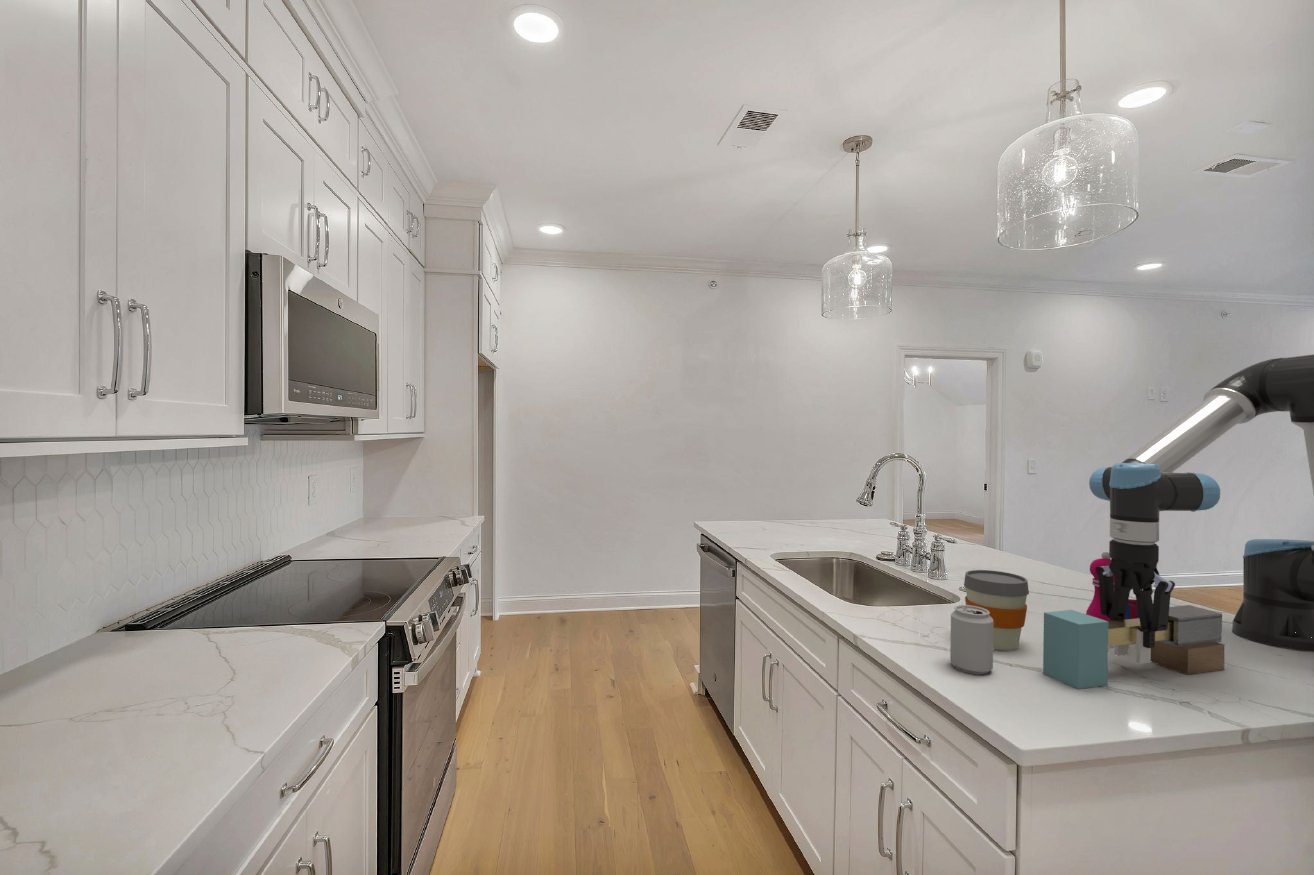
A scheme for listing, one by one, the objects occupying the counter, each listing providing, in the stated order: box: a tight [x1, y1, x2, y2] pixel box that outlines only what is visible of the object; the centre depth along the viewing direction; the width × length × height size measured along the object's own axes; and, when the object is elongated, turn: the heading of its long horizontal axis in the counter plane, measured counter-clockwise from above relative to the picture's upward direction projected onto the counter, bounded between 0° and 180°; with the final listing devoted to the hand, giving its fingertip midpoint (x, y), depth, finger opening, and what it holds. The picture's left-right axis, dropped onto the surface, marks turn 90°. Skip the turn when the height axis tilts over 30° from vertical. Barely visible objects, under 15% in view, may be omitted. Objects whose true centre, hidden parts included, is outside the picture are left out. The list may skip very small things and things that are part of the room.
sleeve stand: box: [1151, 604, 1225, 676], centre depth 116 cm, size 12×8×11 cm, turn 105°
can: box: [949, 604, 994, 675], centre depth 114 cm, size 8×8×12 cm
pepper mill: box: [1085, 551, 1115, 621], centre depth 131 cm, size 7×7×20 cm
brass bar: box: [1108, 618, 1174, 648], centre depth 114 cm, size 28×3×3 cm, turn 105°
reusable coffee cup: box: [963, 569, 1030, 651], centre depth 128 cm, size 13×12×15 cm
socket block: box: [1042, 609, 1109, 690], centre depth 109 cm, size 7×7×12 cm
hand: (1131, 658), depth 113 cm, fingers closed on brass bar, 3 cm apart
